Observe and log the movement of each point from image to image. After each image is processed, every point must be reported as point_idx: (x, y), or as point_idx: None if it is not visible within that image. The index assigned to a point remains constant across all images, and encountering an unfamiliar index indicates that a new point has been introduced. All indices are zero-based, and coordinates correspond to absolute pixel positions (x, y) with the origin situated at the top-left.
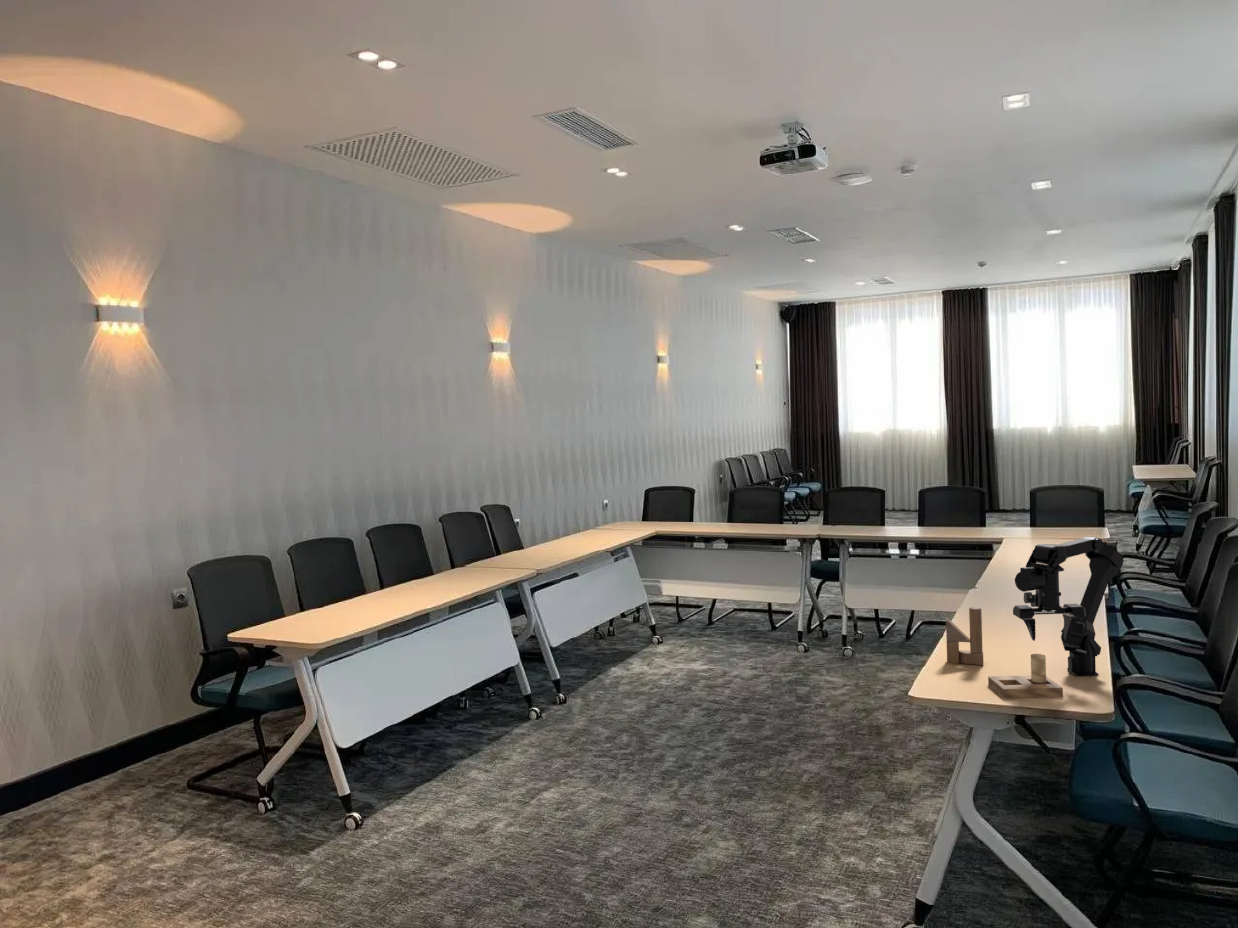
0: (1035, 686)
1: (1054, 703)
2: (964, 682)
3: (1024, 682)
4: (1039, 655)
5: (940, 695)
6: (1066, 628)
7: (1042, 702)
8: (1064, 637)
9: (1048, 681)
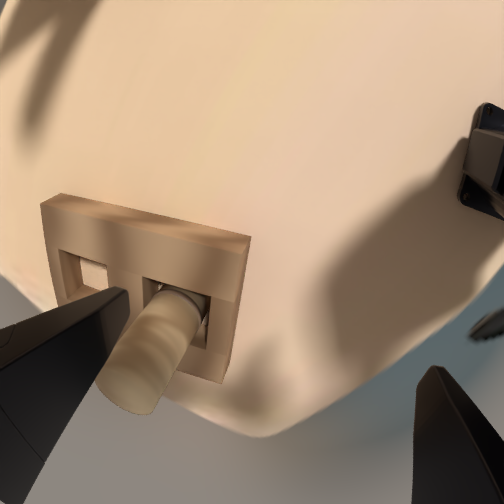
0: None
1: (178, 383)
2: (18, 152)
3: None
4: (129, 394)
5: None
6: (433, 485)
7: None
8: (430, 381)
9: (209, 326)
